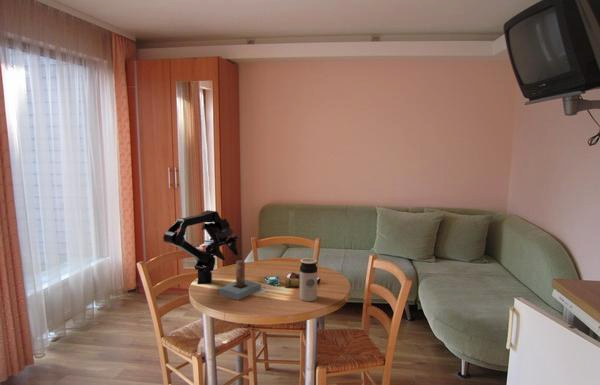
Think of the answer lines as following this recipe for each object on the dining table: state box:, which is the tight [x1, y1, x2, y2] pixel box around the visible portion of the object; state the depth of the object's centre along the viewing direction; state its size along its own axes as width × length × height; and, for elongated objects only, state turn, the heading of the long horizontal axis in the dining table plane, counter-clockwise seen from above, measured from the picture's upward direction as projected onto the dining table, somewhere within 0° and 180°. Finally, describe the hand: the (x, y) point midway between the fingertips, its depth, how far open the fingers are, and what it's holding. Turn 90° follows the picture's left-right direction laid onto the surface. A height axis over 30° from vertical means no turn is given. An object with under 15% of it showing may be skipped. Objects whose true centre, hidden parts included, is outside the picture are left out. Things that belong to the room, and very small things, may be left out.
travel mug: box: [299, 257, 318, 302], centre depth 173 cm, size 8×8×18 cm
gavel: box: [284, 271, 300, 288], centre depth 198 cm, size 21×5×10 cm
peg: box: [235, 260, 246, 289], centre depth 180 cm, size 4×4×15 cm
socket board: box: [218, 279, 262, 301], centre depth 181 cm, size 12×16×3 cm
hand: (231, 257), depth 191 cm, fingers open, 9 cm apart
